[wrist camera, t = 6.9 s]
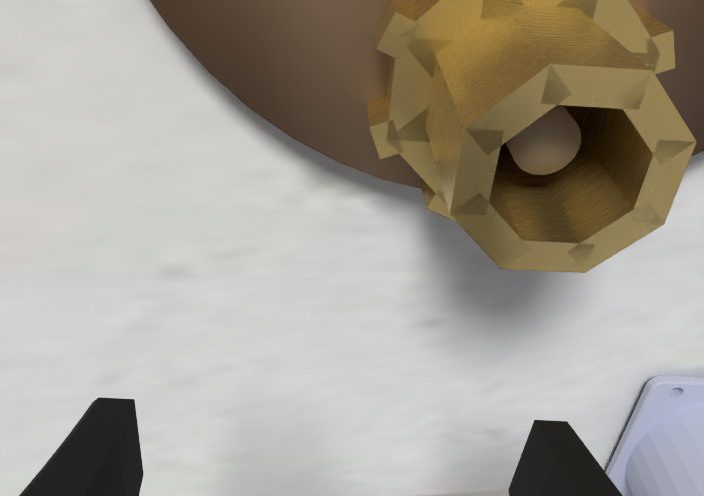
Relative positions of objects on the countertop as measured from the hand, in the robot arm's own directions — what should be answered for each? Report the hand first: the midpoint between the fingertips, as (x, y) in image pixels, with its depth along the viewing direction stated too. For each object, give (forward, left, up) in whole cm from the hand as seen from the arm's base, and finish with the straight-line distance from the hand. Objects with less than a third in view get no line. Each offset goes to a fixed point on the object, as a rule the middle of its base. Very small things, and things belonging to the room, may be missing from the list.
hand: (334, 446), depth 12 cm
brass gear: (-4, -4, -8) cm, 10 cm away
